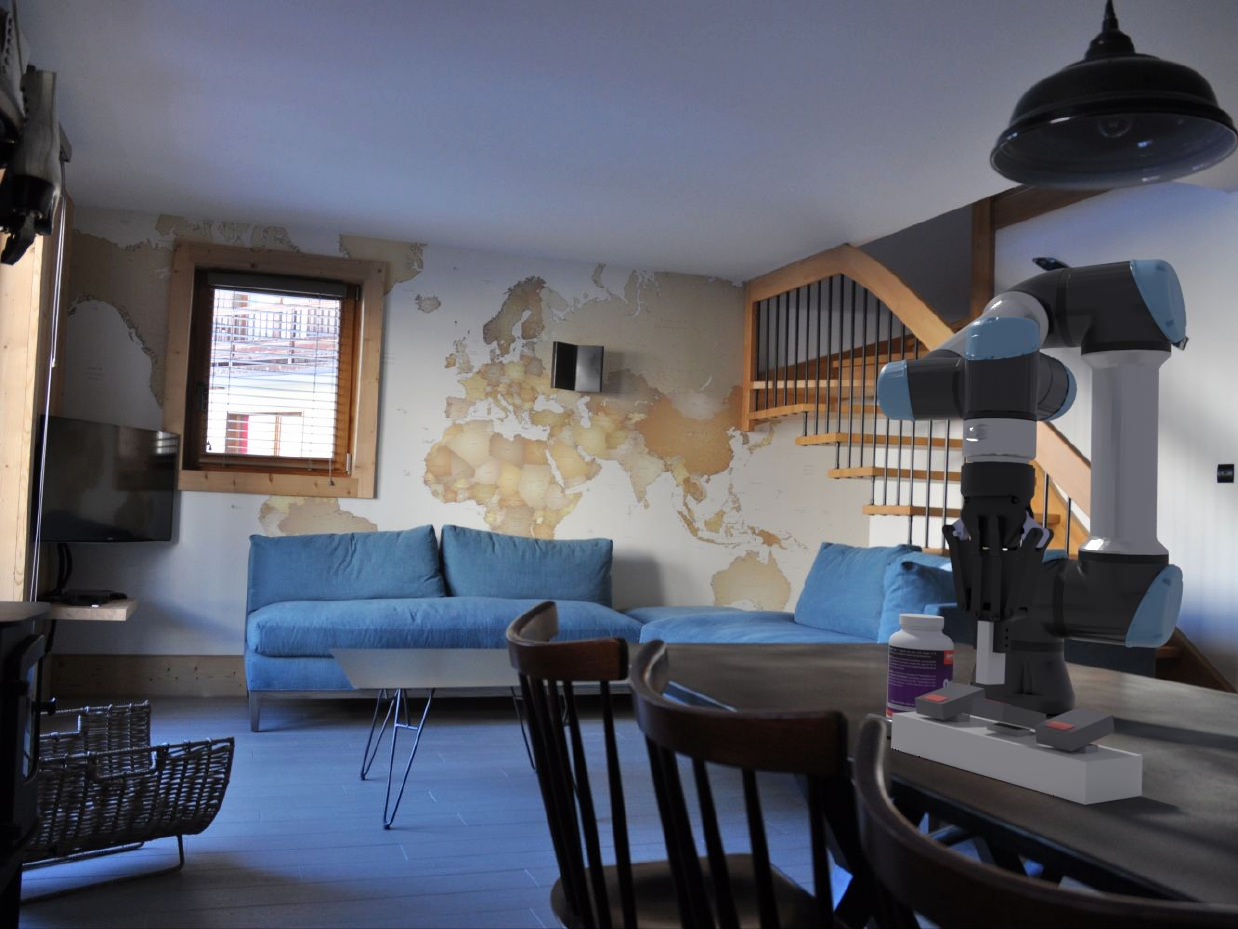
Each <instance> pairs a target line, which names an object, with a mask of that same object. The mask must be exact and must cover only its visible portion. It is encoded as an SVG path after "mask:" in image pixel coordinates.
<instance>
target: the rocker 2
mask: <svg viewBox="0 0 1238 929" xmlns="http://www.w3.org/2000/svg"><path fill="white" fill-rule="evenodd" d="M970 711H971V712H970V715H973V716H977V717H981V718H986V719H990V720H994V721H998V722H1003V723H1007V724H1011V725H1015V726H1020V727H1024V728H1028V729H1033V730H1035V725H1037V724H1039V723H1042V722H1044V721H1047V719H1046V718H1047V714H1044V713H1040V712H1036V711H1032V710H1028V709H1024V708H1020V707H1016V706H1012V705H1010V704H1006V703H1002V702H997V701H993V700H988V699H983V698H982V699H980V698H975V697H974V699H973V705H972V709H971V710H970Z"/></svg>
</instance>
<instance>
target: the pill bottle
mask: <svg viewBox="0 0 1238 929" xmlns="http://www.w3.org/2000/svg"><path fill="white" fill-rule="evenodd" d="M898 619H899V620H898V623H899V626H900V630H899V631H895V632H894V633H893V634H891V635H890V637H889V639H888V659H887V660H888V663H887V664H888V665H887V666H888V667H887V668H888V669H887V691H886V692H887V693H886V694H887V695H886V714H885V715H886V716H885V717H887V718H891V719H892V713H904V712H916V704H915V698H916V697H919V696H922V695H925V694H927V693H930V692H933V691H935V690H938V689H941V688H944V687H946V686H949V685H952V684H954V681H953V680H954V678H953V677H954V674H953V673H954V651H955V650H954V649H955V648H954V642H953V641H952V639H951V637H949V636H948V635H946V634H944V633H943V629H944V628H945V627H944V626H945V616H944V617H943V616H941V615H934V614H921V613H900V614H899V618H898Z"/></svg>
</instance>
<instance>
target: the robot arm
mask: <svg viewBox="0 0 1238 929" xmlns="http://www.w3.org/2000/svg"><path fill="white" fill-rule="evenodd" d="M1186 327H1187V312H1186V304H1185V299H1184V294H1183V289H1182V286H1181V282H1180V279H1179V276H1178V275H1177V272H1176V270H1175V269H1174V267H1173V266H1172V264H1170V263H1169V262H1168V261H1166V260H1163V259H1158V258H1155V259H1154V258H1153V259H1131V260H1124V261H1123V260H1122V261H1117V262H1107V263H1099V264H1092V265H1091V264H1089V265H1084V266H1076V267H1075V266H1074V267H1063V268H1062V267H1061V268H1056V269H1052V270H1048V271H1046V272H1042V273H1039V274H1037V275H1034V276H1031V277H1029V278H1028V279H1025V280H1023V281H1020V282H1018V283H1016V284H1015V285H1013V286H1011V287H1009V288H1007V289H1005V290H1003V291H1002V292H1000V294H998V295H996V296H995V297H994V298H992V299H990V301H989V302H988V303H987V304H986V306H985V307H984V308H983V311H982V314H981V315H980V316H979V317H977V318H975V319H974V320H973V321H971V322H970V323H968V324H967V325H966V326H964V327H962V328H961V329H960V330H959V331H957V332H956V333H954V334H953V335H952V336H951V337H949V338H947V339H946V340H945V341H943V342H942V343H940V344H939V345H938V346H936V347H935V348H933V349H932V350H931V351H929V352H928V353H926V354H925V355H922V357H920V358H918V359H917V358H916V359H905V358H904V359H902V360H897V361H891V362H888V363H886V364H885V365H884V366H882V368H881V370H880V372H879V375H878V377H877V383H876V395H877V401H878V407H879V408H880V411H881V412H882V414H883V416H885V417H886V418H887V419H890V420H892V421H910V422H912V423H914V422H922V421H924V422H927V421H928V422H929V421H949V420H953V421H954V420H963V422H962V423H963V424H962V426H963V427H962V449H961V451H962V452H961V456H963V458H965V459H967V462H963V465H961V467H960V468H961V469H960V489H959V492H960V495H961V496H962V497H963V499H964V500H963V501H964V502H963V505H962V508H961V510H960V517H959V518H958V519H957V520H955V521H954V522H953V523H951V524H948V523H946V524H943V526H942V527H941V532H942V534H943V537H944V539H945V542H946V543H947V545H948V551H949V559H950V565H951V571H952V578H953V585H954V592H955V601H956V604H957V605H956V606H957V610H958V611H959V612H960V613H965V614H967V615H969V616H970V617H971V619H972V645H971V646H972V647H973V650H976V661H975V664H974V666H973V669H972V673H971V676H970V680H969V681H968V683H967V685H970V686H975V687H979V688H984V691H985V699H988V700H993V701H997V702H1002V703H1006V704H1010V705H1012V706H1016V707H1020V708H1024V709H1028V710H1032V711H1036V712H1040V713H1044V714H1046V715H1061V714H1063V713H1066V712H1068V711H1071V710H1073V709H1075V708H1076V701H1077V700H1076V698H1077V697H1076V693H1075V691H1074V688H1073V684H1072V680H1071V676H1070V674H1069V670H1068V668H1067V663H1066V660H1065V656H1064V655H1065V640H1071V641H1073V640H1074V641H1080V642H1082V641H1083V642H1091V643H1098V644H1099V643H1100V644H1101V643H1102V644H1110V645H1119V646H1120V645H1121V646H1125V647H1126V648H1130V649H1131V648H1132V647H1138V648H1153V649H1154V648H1159V647H1162V646H1164V645H1165V644H1166V643H1167V642H1168V641H1169V640H1170V639H1171V637H1172V636H1173V633H1174V631H1175V628H1176V626H1177V622H1178V621H1179V620H1178V619H1179V616H1180V611H1181V606H1182V600H1183V595H1184V594H1183V593H1184V581H1183V579H1184V578H1183V576H1184V574H1183V571H1182V569H1181V567H1180V566H1178V565H1176V564H1174V563H1170V552H1169V549H1167V548H1166V547H1165V546H1164V545H1163V544H1162V543H1161V542H1160V541H1159V539H1158V530H1157V529H1158V484H1159V482H1158V479H1159V478H1158V476H1159V474H1158V469H1159V466H1158V465H1159V464H1158V463H1159V462H1158V461H1159V409H1160V408H1159V403H1160V402H1159V398H1160V397H1159V396H1160V395H1159V394H1160V393H1159V392H1160V389H1159V388H1160V368H1161V366H1162V365H1164V363H1165V362H1167V361H1168V359H1170V358H1171V357H1172V345H1173V343H1178V342H1180V341H1183V340H1184V338H1185V336H1186V333H1187V332H1186V331H1187V329H1186ZM1062 348H1063V349H1064V348H1065V349H1066V348H1067V349H1068V348H1070V349H1071V348H1072V349H1073V348H1080V360H1081V361H1082V362H1084V363H1085V364H1086V365H1087V366H1088V367H1089V369H1090V370H1091V411H1090V412H1091V416H1090V417H1091V422H1090V423H1091V424H1090V425H1091V426H1090V428H1091V429H1090V436H1091V437H1090V496H1089V497H1090V499H1089V501H1090V502H1089V504H1090V505H1089V506H1090V507H1089V508H1090V509H1089V512H1090V513H1089V514H1090V515H1089V536H1088V538H1087V539H1086V540H1085V541H1084V542H1082V544H1080V545H1079V546H1078V549H1077V559H1073V558H1069V555H1068V552H1067V550H1066V549H1064V548H1049V549H1048V546H1050V544H1051V542H1052V540H1053V539H1054V537H1055V531H1054V530H1053V529H1051V528H1045V527H1044V526H1042V525H1041V524H1039V523H1038V522H1037V521H1036V520H1035V514H1034V511H1033V508H1032V506H1031V504H1032V503H1031V501H1032V499H1033V498H1034V496H1035V492H1036V491H1035V490H1036V486H1035V485H1036V468H1035V467H1034V465H1033V464H1030V463H1031V461H1033V460H1035V459H1036V458H1037V440H1038V439H1037V437H1038V434H1037V432H1038V423H1037V422H1042V423H1043V422H1051V421H1055V420H1057V419H1059V418H1061V417H1062V416H1063V417H1064V415H1065V414H1066V413H1068V411H1069V410H1070V409H1071V408H1072V406H1074V403H1075V401H1076V399H1077V398H1076V397H1077V393H1078V386H1077V380H1076V378H1075V376H1074V373H1073V372H1072V371H1071V369H1069V367H1068V366H1066V365H1065V364H1064V363H1063V361H1061V360H1059V358H1056V357H1055V356H1051V355H1049V354H1045V353H1044V352H1041V350H1045V349H1047V350H1048V349H1062ZM1022 540H1023V541H1022ZM1021 541H1022V543H1021Z"/></svg>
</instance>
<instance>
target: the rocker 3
mask: <svg viewBox="0 0 1238 929" xmlns="http://www.w3.org/2000/svg"><path fill="white" fill-rule="evenodd" d="M1034 730H1035V734H1036V743H1039V744H1043V745H1047V746H1051V747H1055V748H1060V749H1064V750H1068V751H1073V750H1076V749H1078V748H1080V747H1082V746H1085V745H1087V744H1089V743H1094V742H1096V741H1098V740H1100V739H1102V738H1104V737H1107V736H1109V735H1111V734H1114V733H1115V723H1114V715H1113V713H1112V714H1111V713H1107V712H1103V711H1102V712H1101V711H1097V710H1092V709H1087V708H1082V707H1075V709H1073V710H1071V711H1068V712H1066V713H1063V714H1058V715H1056V716H1054V717H1052V718H1050V719H1046V720H1045V721H1044V722H1042V723H1039V724H1037V725H1035V729H1034Z"/></svg>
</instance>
